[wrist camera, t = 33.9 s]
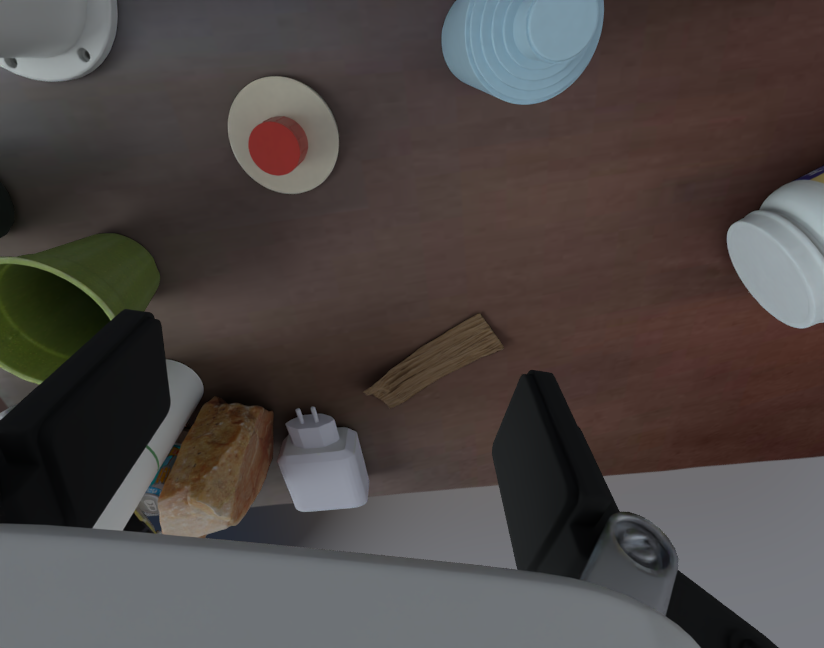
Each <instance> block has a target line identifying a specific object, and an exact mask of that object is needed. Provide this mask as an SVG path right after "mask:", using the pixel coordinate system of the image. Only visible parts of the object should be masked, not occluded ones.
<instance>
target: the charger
mask: <svg viewBox="0 0 824 648" xmlns="http://www.w3.org/2000/svg"><path fill="white" fill-rule="evenodd" d="M310 409H311V412H312V414H310V415H302V413H301V410H300V408H297V409H296V413H297V416H298V417H297V418H294V419H292V420H290V421H288V422H287V423H286V427H287V430H288V433H289V435H288V436H287V437H286V438H285V439H284V440H283V443H282V446H281V449H280V452H279V455H278V459H277V463H278V465H279V468H280V470H281V473H282V475H283V478H284V480H285V482H286V485H287V487H288V490H289V492H290V495H291V497H292V500H293V502H294V505H295V507H296V509H297V510H299V511H303V512H310V511H320V510H321V511H322V510H333V509H344V508H355V507H360V506H362V505H364V504H366V503H367V501H368V489H369V478H368V474H367V470H366V466H365V462H364V458H363V454H362V450H361V447H360V443H359V439H358V435H357V432H356V431H354V430H351V429H349V428H346V427H339V428H337V427H336V424H335V420H334V418H332V417H331V416H328V415H325V414H317V412H316V409H315V407H311V408H310Z"/></svg>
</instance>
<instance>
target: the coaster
mask: <svg viewBox="0 0 824 648" xmlns="http://www.w3.org/2000/svg"><path fill="white" fill-rule="evenodd" d="M278 116H285V117H288V118H291V119H293V120H294V121H296V122H297V123H298V124H299V125H300V126H301V127H302V128H303V130H304V132H305V133H306V136H307V140H308V151H307V154H306V156H305V158H304V160H303V161H302V162H301V163H300V164H299V166H297V167H296V168H295V169H294V170H293V171H291V172H290V173H288V174H286V175H281V176H276V175H271V174H268V173H266V172H264V171H263V170H261V169H260V168H259V167H258V166H257V165H256V164H255V163H254V161H253V160H252V158H251V155H250V152H249V148H248V141H249V136H250V134H251V132H252V130H253V129H254V128H255V127H256V126H257V125H259V124H261V123H263V121H265V120H267V119H269V118H271V117H272V118H274V117H278ZM228 136H229V141H230V145H231V148H232V151H233V153H234V155H235V157H236V159H237V161H238V162H239V164H240V165H241V167H242V168H243V169H244V171H245V172H246V173H247V174H248V175H249V176H250V177H251V178H252V179H254V180H255V181H256V182H258V183H259V184H261V185H262V186H264V187H266V188H268V189H270V190H273V191H276V192H280V193H286V194H298V193H303V192H307V191H309V190H312V189H314V188H316V187H317V186H319V185H320V184H321V183H322V182H324V181H325V180H326V178H327V177H328V176H329V175H330V173H331V172H332V170H333V168H334V166H335V164H336V161H337V158H338V154H339V144H340V140H339V132H338V127H337V124H336V121H335V118H334V116H333V114H332V111H331V110H330V108H329V106H328V105H327V103H326V102H325V101H324V100H323V98H322V97H321V96H320V95H319V94H318V93H317V92H316V91H314V90H313V89H312V88H311V87H309V86H308V85H306V84H304V83H303V82H300V81H298V80H296V79H293V78H289V77H284V76H269V77H263V78H260V79H257V80H255V81H253V82H251V83H249V84H248V85H247V86H245V87H244V88H243V89H242V90H241V91H240V92H239V94H238V95H237V96H236V98H235V99H234V102H233V104H232V106H231V109H230V112H229V117H228Z"/></svg>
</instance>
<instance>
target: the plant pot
mask: <svg viewBox="0 0 824 648" xmlns="http://www.w3.org/2000/svg"><path fill="white" fill-rule="evenodd" d="M159 282H160V273H159V271H158V269H157V267H156V264H155V261H154V259H153V257H152V256H151V254H150V253H149V252H148V251H147V250H146V249H145V248H144V247H143V246H141V245H140V244H139V243H137V242H136V241H134V240H132V239H130V238H128V237H125V236H123V235H120V234H115V233H102V234H96V235H92V236H89V237H86V238H83V239H80V240H77V241H74V242H71V243H67V244H64V245H61V246H58V247H55V248H52V249H49V250H46V251H42V252H39V253H36V254H27V255H22V256H18V257H0V367H1V368H3V369H4V370H6V371H8V372H10V373H12V374H14V375H16V376H18V377H20V378H22V379H24V380H26V381H29V382H33V383H37V384H39V385H40V384H41V383H42V382H43V381H44V380H45V379H46V378H48V377H49V376H50V375H51V374H52V373H53V372H54V371H55V370H56V369H58V368H59V367H60V366H61V365H62V364H63V363H64V362H65V361H66V360H68V359H69V358H70V357H71V356H72V355H73V354H74V353H75V352H76V351H78V350H79V349H80V348H81V347H82V346H83V345H84V344H85V343H86V342H88V341H89V340H90V339H91V338H92V337H93V336H94V335H95V334H96V333H98V332H99V331H100V330H101V329H102V328H103V327H104V326H105V325H106V324H108V323H109V322H110V321H111V320H112V319H113V318H114V317H115V316H116V315H118V314H119V313H120V312H121V311H122V310H124V309H130V310H137V311H143V312H144V311H145V309H146V308H147V306H148V304H149V302H150V301H151V299H152V297H153V296H154V294H155V292H156V290H157V289H158V286H159Z"/></svg>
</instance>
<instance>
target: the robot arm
mask: <svg viewBox="0 0 824 648" xmlns="http://www.w3.org/2000/svg"><path fill="white" fill-rule="evenodd" d="M117 21H118V10H117V0H0V66H1V67H3V68H5V69H7V70H9V71H11V72H13V73H15V74H17V75H20V76H24V77H27V78H30V79H33V80H40V81H47V82H59V81H69V80H74V79H79V78H81V77H83V76H85V75H87V74H89V73H91V72H93V71H94V70H95V69H96V68H97V67H98V66H100V65H101V64H102V63H103V62H104V60H105V58H106V57H107V55H108V54H109V52H110V51H111V48H112V45H113V42H114V39H115V36H116V30H117ZM88 52H89V54H90V57H89V55H88ZM170 404H171V399H170V391H169V383H168V375H167V367H166V359H165V351H164V343H163V334H162V326H161V322H160V321H159V320H157V319H154V316H153V314H152V313H150V312H143V311H137V310H130V309H124V310H122V311H121V312H120V313H119V314H118V315H116V316H115V317H114V318H113V319H112V320H111V321H110V322H109V323H108V324H106V325H105V326H104V327H103V328H102V329H101V330H100V331H99V332H98V333H96V334H95V335H94V336H93V337H92V338H91V339H90V340H89V341H88V342H86V343H85V344H84V345H83V346H82V347H81V348H80V349H79V350H78V351H76V352H75V353H74V354H73V355H72V356H71V357H70V358H69V359H68V360H66V361H65V362H64V363H63V364H62V365H61V366H60V367H59V368H58V369H56V370H55V371H54V372H53V373H52V374H51V375H50V376H49V377H48V378H46V379H45V380H44V381H43V382H42V383H41V384H40V385H39V386H38V387H36V388H35V389H34V390H33V391H32V392H31V393H30V394H29V395H28V396H26V397H25V398H24V399H23V400H22V401H21V402H20V403H19V404H18V405H16V406H15V407H14V408H13V409H12V410H11V411H10V412H9V413H8V414H6V415H5V416H4V417H3V418H2V419H1V420H0V648H778V647H777V646H776V645H775V644H773V643H772V642H771V641H770V640H769V639H768V638H767V637H766V636H764V635H763V634H762V633H760V632H759V631H758V630H756V629H755V628H754V627H753V626H751V625H750V624H749V623H747V622H746V621H744V620H743V619H742V618H741V617H739V616H738V615H736V614H735V613H734V612H733V611H731V610H730V609H729V608H727V607H726V606H724V605H723V604H722V603H721V602H719V601H718V600H717V599H716V598H714V597H713V596H712V595H710V594H709V593H707V592H706V591H705V590H704V589H702V588H701V587H700V586H698V585H697V584H696V583H694V582H693V581H692V580H690V579H689V578H688V577H686V576H685V575H684V574H683V573H681V572H680V571H679V570H678V556H677V553H676V550H675V548H674V546H673V545H672V543H671V542H670V540H669V538H668V537H667V536H666V535H665V534H664V533H663V532H662V531H661V529H660V528H658V527H657V526H656V525H654V524H653V523H652V522H651V521H649V520H647V519H645V518H644V517H642V516H640V515H637V514H634V513H630V512H619V510H618V507H617V505H616V503H615V501H614V499H613V497H612V495H611V493H610V490H609V488H608V486H607V484H606V482H605V480H604V478H603V476H602V473H601V471H600V469H599V467H598V465H597V463H596V461H595V459H594V456H593V454H592V452H591V450H590V448H589V446H588V444H587V442H586V440H585V437H584V435H583V433H582V431H581V430H580V428H579V427H578V426H577V424H576V422H575V420H574V417H573V415H572V413H571V411H570V409H569V407H568V405H567V402H566V400H565V398H564V396H563V394H562V392H561V390H560V387H559V385H558V383H557V381H556V379H555V377H554V375H553V374H552V373H549V372H542V371H536V370H530V371H529V372H528V374H527V375H526V374H523V375H522V376H521V377H520V379H519V382H518V384H517V387H516V389H515V391H514V394H513V396H512V399H511V401H510V404H509V406H508V409H507V411H506V413H505V416H504V418H503V421H502V423H501V426H500V428H499V431H498V433H497V435H496V438H495V440H494V443H493V447H492V456H493V461H494V465H495V470H496V474H497V479H498V484H499V488H500V493H501V497H502V502H503V506H504V511H505V515H506V520H507V524H508V529H509V534H510V538H511V542H512V547H513V552H514V557H515V561H516V566H517V570H515V569H507V568H497V567H490V566H482V565H473V564H463V563H453V562H442V561H433V560H424V559H414V558H404V557H394V556H385V555H375V554H365V553H354V552H344V551H334V550H323V549H314V548H302V547H293V546H282V545H272V544H261V543H251V542H240V541H230V540H219V539H208V538H197V537H186V536H175V535H164V534H153V533H142V532H131V531H120V530H106V529H93V526H94V525H95V523H96V522H97V520H98V519H99V517H100V516H101V514H102V513H103V511H104V510H105V508H106V507H107V505H108V504H109V502H110V501H111V499H112V498H113V496H114V495H115V493H116V492H117V490H118V489H119V487H120V486H121V484H122V483H123V481H124V480H125V478H126V477H127V475H128V473H129V472H130V470H131V469H132V467H133V466H134V464H135V463H136V461H137V460H138V458H139V457H140V455H141V454H142V452H143V451H144V449H145V448H146V446H147V445H148V443H149V442H150V440H151V439H152V437H153V436H154V434H155V433H156V431H157V430H158V428H159V427H160V425H161V424H162V422H163V421H164V419H165V418H166V416H167V414H168V412H169V409H170Z"/></svg>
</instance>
